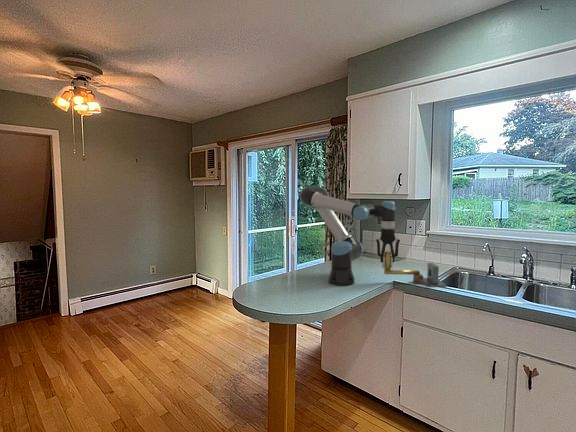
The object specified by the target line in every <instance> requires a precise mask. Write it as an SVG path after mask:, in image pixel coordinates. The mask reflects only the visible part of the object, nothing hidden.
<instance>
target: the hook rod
mask: <svg viewBox="0 0 576 432" xmlns="http://www.w3.org/2000/svg"><path fill="white" fill-rule="evenodd" d="M391 256H392V255H391V251H387V250H385V251H384V257H385V269H383V270H384V272H383V273H384V275H419V274H421V271H420V270H417V269H416V270H415V269H413V270H411V269H409V270H408V269H406V270H405V269H401V270H400V269H391V268H390V261H391Z"/></svg>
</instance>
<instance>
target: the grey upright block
mask: <svg viewBox="0 0 576 432" xmlns="http://www.w3.org/2000/svg"><path fill="white" fill-rule="evenodd" d="M426 268H427V269H426V270H427V271H426V277H423V285H426V287H439V288H441V287H442V288H443V287H444V288H445V287H447V284H446V283H444V282H443V281H442V280H441V279H439V268H440V266H438V265H436V264H435V263H433V262H427V267H426Z"/></svg>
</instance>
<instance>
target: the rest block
mask: <svg viewBox="0 0 576 432" xmlns="http://www.w3.org/2000/svg"><path fill="white" fill-rule="evenodd" d="M412 275H413V274H412ZM423 278H424V275H423V274H422V273H420V274H419V275H413V279H412V280H413V281H412V282H414V284H415V285H417V284H418V285H424V283H423Z"/></svg>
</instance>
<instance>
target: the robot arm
mask: <svg viewBox="0 0 576 432" xmlns="http://www.w3.org/2000/svg"><path fill="white" fill-rule="evenodd" d="M299 199H300V202H301V203H302V205H303V204H304V205H305V206H309V207H312V208H313V210H314V211H317V212H318V213H319V215H320V216H321V218H322V220H323V221H324V224H326V226H327V228H328V229H329V231H330V232H331V234H332V235H333V237H334V238H335V240H336V242H333V243H332V245H331V252H330V253H331V269H330V273H329V275H328V283H329V284H331V285H333V284H334V286H339V287H341V286H342V287H345V286H351V285H353V284H355V277H354V274H353V270H352V262H353V261H355V260H357V259H359V258H360V257H361V256H362V254H363V252H364V247H363V244H362V242H361V241H359V240H357V239H355V237H354V235H353V234H349V232H348V230H347V229H346V228H345V226H344V224H343V223H342V222H341V220H340V219H339V217H338V216H337V214H336V213H339V214H343V215H347V216H350V217H354V218H355V220H358V221H359V220H360V221H364V220H365V219H370V218H379V219H380V218H381V220H380V223H381V224H380V227H381V228H380V237H379V238H376V239H375V241H376V250H377V251H376V253H377V256H378V257H380V262H381V265H382V267H381V268H382V269H383V270H384V269H385V257H384V252H385V251H386V247H387V245H389V249H390V252H391V261H390V270H394V269H393V264H394V263H395V258H396V257H398V256H399V246H400V245H399V244H400V241H401V239H399V238H397V237H396V234H395V233H396V231H395V230H396V229H395V226H396V222H395V221H396V203H395V201H390V200H389V201H386V200H385V201H381V204H368V203H366V204H359V203H355V202H353V201H352V202H351V201H348V200H343V199H340V198H336V197H332V196H329V193H328V191H327V189H325V188H324V187H322V186H307V187H304V188H303V189H302V190H301V191H300V193H299ZM381 242H382V246H381ZM393 243H395V247H394V245H393ZM381 247H382V248H381Z"/></svg>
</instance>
